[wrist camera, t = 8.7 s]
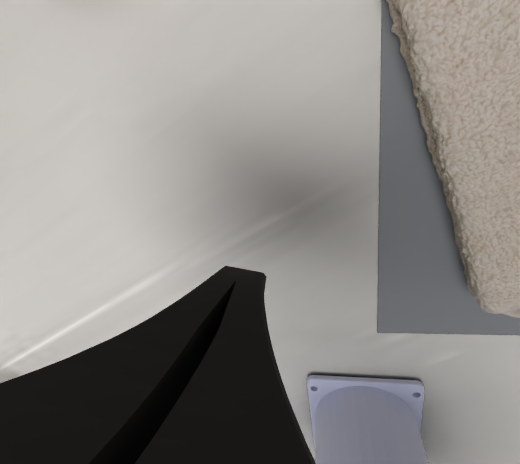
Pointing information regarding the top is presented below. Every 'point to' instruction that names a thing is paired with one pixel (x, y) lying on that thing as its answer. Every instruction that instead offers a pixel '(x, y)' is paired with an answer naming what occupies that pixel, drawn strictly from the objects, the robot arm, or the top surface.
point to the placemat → (418, 221)
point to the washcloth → (472, 129)
